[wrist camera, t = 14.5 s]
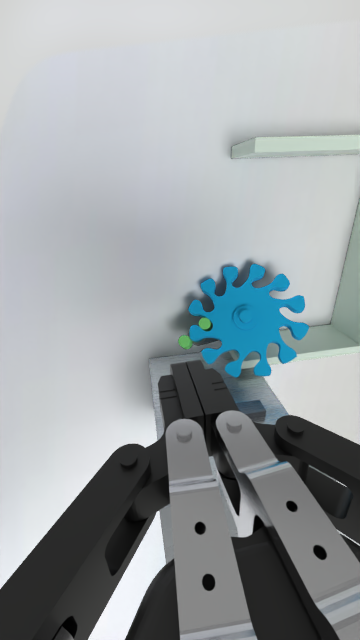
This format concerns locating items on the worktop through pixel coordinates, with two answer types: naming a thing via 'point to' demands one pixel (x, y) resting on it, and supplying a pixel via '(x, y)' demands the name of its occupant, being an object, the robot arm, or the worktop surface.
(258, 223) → the worktop surface
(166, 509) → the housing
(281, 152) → the bay
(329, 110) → the worktop surface
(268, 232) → the worktop surface
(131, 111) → the worktop surface
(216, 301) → the gear
